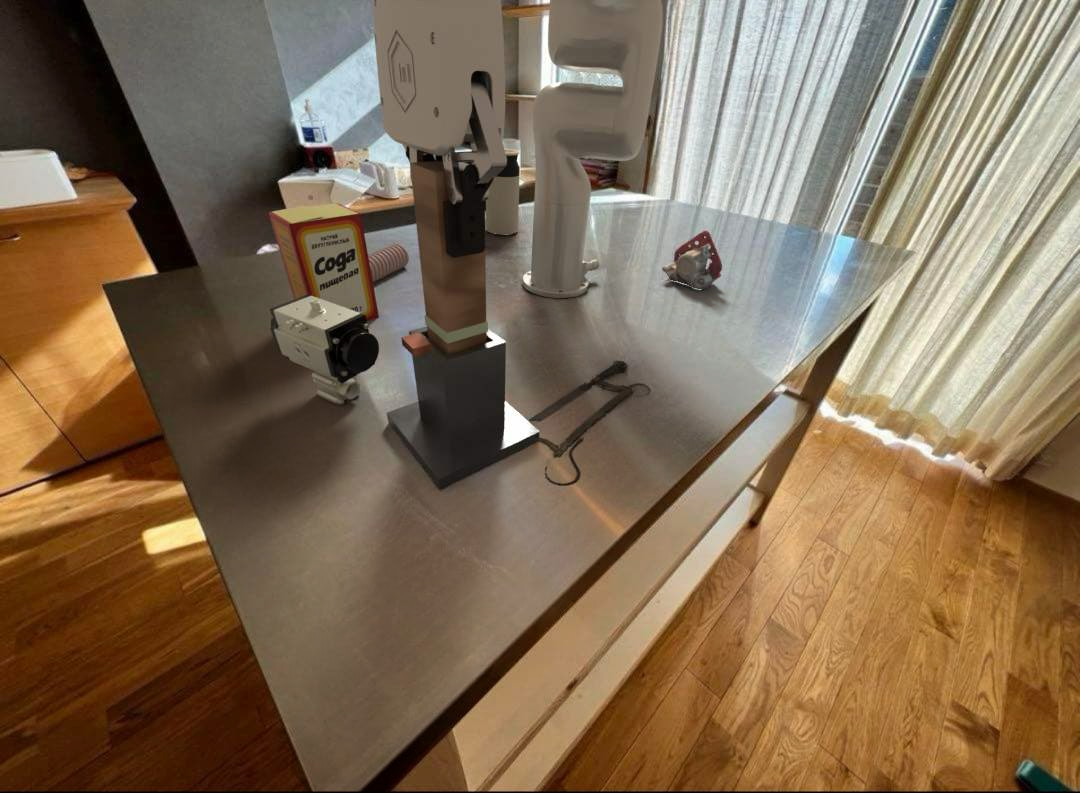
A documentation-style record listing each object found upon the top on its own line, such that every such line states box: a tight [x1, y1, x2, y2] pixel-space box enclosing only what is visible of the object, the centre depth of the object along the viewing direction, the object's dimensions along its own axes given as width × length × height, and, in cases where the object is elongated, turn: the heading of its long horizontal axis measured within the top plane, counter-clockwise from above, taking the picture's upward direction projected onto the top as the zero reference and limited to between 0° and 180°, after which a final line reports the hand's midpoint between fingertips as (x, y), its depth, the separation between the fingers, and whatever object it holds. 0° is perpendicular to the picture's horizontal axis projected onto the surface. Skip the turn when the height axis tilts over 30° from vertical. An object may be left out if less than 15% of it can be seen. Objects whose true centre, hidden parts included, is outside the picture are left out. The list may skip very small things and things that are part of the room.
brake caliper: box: [661, 230, 723, 290], centre depth 86 cm, size 11×10×11 cm
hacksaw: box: [527, 360, 651, 487], centre depth 52 cm, size 24×10×2 cm, turn 137°
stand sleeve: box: [386, 326, 540, 491], centre depth 44 cm, size 12×12×13 cm
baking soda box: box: [268, 203, 380, 322], centre depth 63 cm, size 10×6×16 cm
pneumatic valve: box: [269, 294, 380, 406], centre depth 48 cm, size 6×12×12 cm, turn 61°
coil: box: [368, 242, 410, 283], centre depth 80 cm, size 5×5×18 cm
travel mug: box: [485, 148, 521, 234], centre depth 104 cm, size 8×8×18 cm
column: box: [409, 161, 489, 356], centre depth 37 cm, size 4×4×18 cm
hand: (451, 243), depth 36 cm, fingers closed on column, 4 cm apart
